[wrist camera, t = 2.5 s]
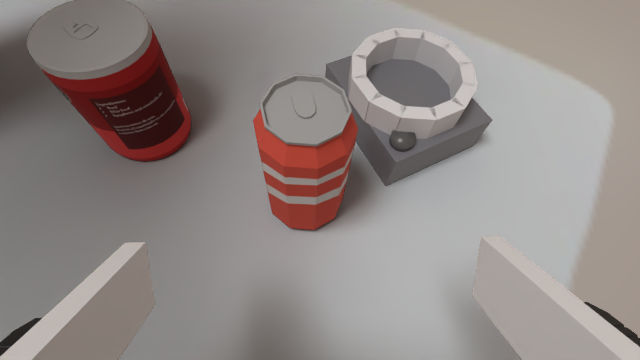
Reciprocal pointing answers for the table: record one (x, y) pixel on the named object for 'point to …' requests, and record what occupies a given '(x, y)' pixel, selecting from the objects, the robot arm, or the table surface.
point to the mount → (410, 100)
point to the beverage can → (305, 148)
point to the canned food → (113, 75)
